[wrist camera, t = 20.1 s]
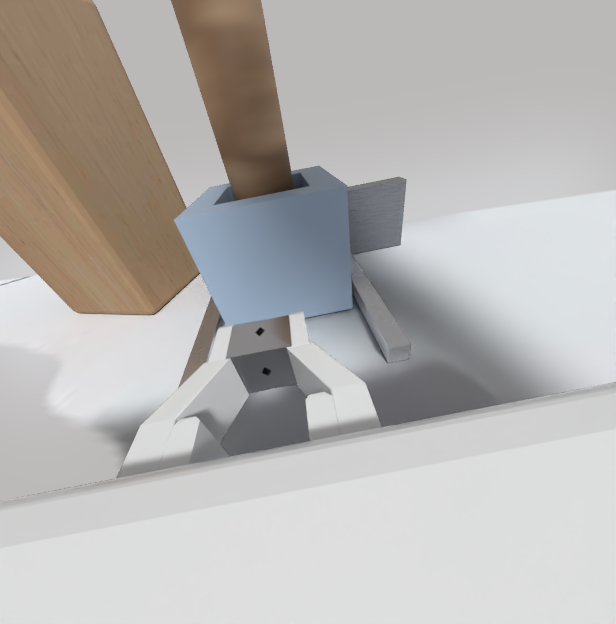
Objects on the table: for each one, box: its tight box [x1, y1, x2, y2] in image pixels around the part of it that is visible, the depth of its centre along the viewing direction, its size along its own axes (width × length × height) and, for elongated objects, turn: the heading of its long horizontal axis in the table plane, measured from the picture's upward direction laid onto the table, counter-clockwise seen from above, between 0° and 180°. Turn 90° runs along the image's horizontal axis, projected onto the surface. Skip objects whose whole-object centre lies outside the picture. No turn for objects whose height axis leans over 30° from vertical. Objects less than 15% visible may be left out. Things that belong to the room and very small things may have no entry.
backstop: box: [178, 177, 411, 388], centre depth 17 cm, size 20×16×6 cm
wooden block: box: [0, 0, 200, 315], centre depth 20 cm, size 10×10×20 cm
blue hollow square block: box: [174, 166, 353, 326], centre depth 18 cm, size 9×9×8 cm
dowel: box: [171, 0, 294, 201], centre depth 14 cm, size 4×4×16 cm
